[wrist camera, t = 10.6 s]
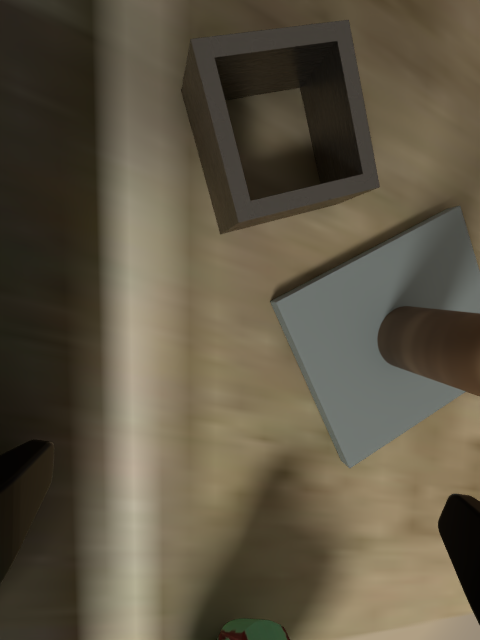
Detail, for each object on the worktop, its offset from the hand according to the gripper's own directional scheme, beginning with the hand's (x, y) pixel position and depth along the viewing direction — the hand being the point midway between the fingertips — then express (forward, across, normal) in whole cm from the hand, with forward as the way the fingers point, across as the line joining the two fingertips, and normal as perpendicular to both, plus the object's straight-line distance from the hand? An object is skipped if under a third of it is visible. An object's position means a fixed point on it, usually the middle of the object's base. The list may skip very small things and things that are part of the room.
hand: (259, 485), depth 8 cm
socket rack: (+15, 0, -10) cm, 18 cm away
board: (+15, -11, 0) cm, 19 cm away
